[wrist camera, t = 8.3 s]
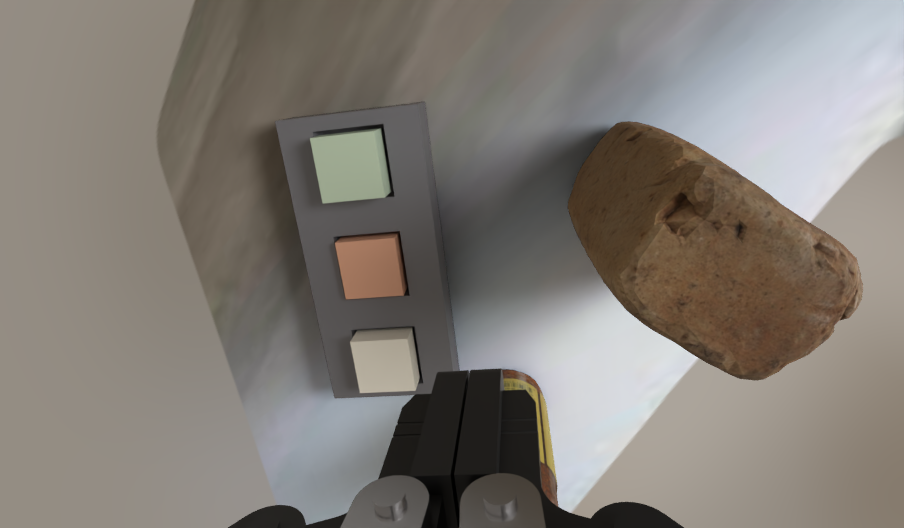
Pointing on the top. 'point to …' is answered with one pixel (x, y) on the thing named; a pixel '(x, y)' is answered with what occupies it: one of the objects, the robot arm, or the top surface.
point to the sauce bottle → (521, 382)
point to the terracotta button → (372, 265)
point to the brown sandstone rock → (708, 253)
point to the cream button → (385, 360)
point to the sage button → (351, 165)
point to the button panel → (399, 211)
